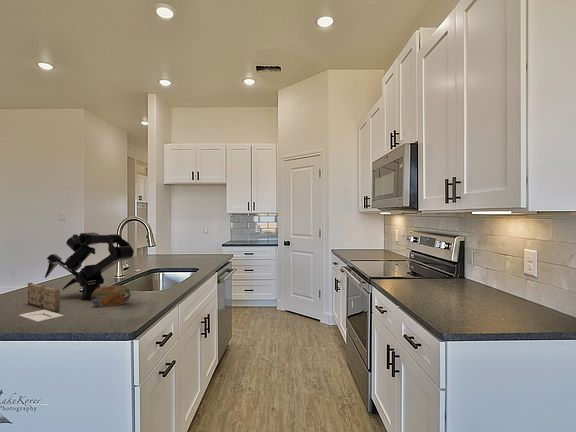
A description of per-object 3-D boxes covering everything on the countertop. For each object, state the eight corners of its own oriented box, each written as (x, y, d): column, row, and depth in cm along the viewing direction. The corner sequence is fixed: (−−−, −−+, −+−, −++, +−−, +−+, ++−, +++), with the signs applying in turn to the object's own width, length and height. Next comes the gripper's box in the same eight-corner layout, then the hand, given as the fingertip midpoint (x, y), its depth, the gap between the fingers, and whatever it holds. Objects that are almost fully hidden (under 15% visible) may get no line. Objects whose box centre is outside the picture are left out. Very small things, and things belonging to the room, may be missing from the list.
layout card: (63, 315, 133) (63, 314, 133) (37, 322, 125) (37, 320, 125) (44, 310, 140) (44, 309, 140) (19, 315, 132) (19, 314, 132)
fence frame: (60, 311, 139) (60, 289, 139) (55, 312, 137) (55, 289, 137) (44, 306, 145) (44, 285, 145) (39, 307, 143) (39, 286, 143)
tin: (90, 307, 145) (91, 287, 145) (91, 306, 148) (91, 286, 148) (130, 304, 152) (130, 285, 152) (129, 302, 155) (130, 283, 155)
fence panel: (44, 305, 145) (44, 285, 145) (38, 306, 143) (39, 286, 143) (31, 301, 150) (31, 282, 150) (26, 302, 149) (26, 283, 149)
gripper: (99, 267, 172) (76, 293, 167) (67, 244, 168) (42, 270, 164) (94, 268, 161) (69, 296, 157) (60, 243, 158) (33, 271, 154)
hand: (54, 283), depth 158 cm, fingers open, 9 cm apart
